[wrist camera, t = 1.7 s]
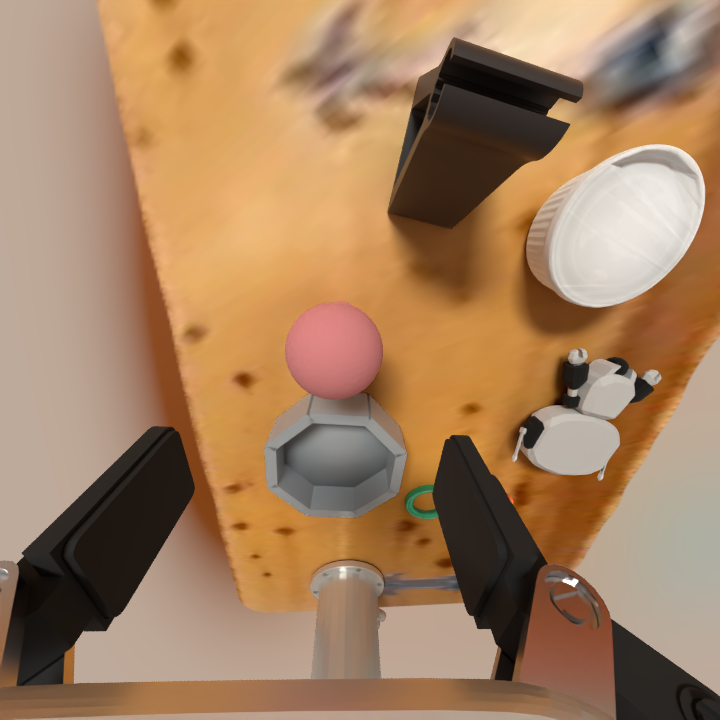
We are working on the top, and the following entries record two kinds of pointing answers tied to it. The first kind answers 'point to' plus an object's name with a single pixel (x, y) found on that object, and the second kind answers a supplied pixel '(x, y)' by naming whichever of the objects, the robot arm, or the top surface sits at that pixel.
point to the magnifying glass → (420, 513)
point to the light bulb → (334, 351)
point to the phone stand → (474, 131)
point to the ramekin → (617, 226)
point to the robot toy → (583, 416)
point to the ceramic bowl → (335, 456)
